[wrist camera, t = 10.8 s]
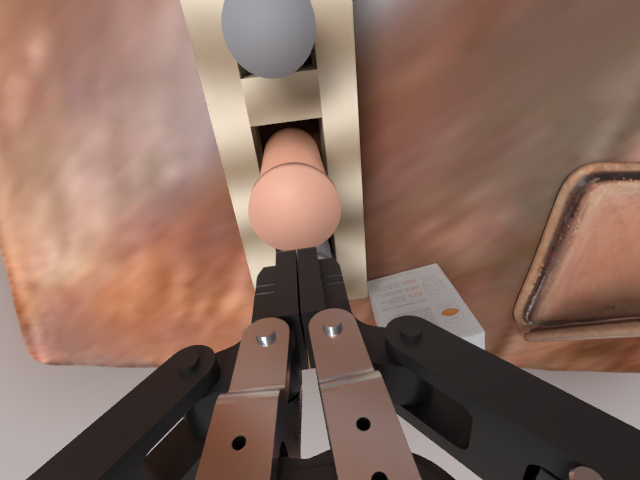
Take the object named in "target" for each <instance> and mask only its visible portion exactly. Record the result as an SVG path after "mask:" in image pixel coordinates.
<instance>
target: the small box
mask: <svg viewBox="0 0 640 480" xmlns="http://www.w3.org/2000/svg"><path fill="white" fill-rule="evenodd" d="M367 288H368V293H369V297H370V301H371V305H372V310H373V314H374V318H375V321H376V324H377V327H386V326H387V324H388V323H389V322H390V321H391V320H393V319H394V318H396V317H399V316H405V315H412V316H418V317H421V318H423V319H425V320H427V321H429V322H431V323H433V324H435V325H437V326H439V327H441V328H443V329H445V330H447V331H449V332H451V333H452V334H454V335H456V336H458V337H460V338H462V339H464V340H466V341H468V342H470V343H472V344H474V345H476V346H478V347H480V348H482V349H483V350H485V331H484V329H483V328H482V326H481V325H480V323H479V322H478V321H477V319H476V318H475V316H474V315H473V313H472V312H471V311H470V309H469V308H468V306H467V305H466V303H465V302H464V301H463V299H462V298H461V296H460V295H459V294H458V292H457V291H456V289H455V288H454V286H453V285H452V284H451V282H450V281H449V279H448V278H447V277H446V275H445V274H444V272H443V271H442V269H441V268H440V267H439V265H438V264H437V263H434V264H430V265H427V266H423V267H419V268H416V269H412V270H408V271H404V272H400V273H396V274H393V275H389V276H385V277H382V278H378V279H374V280H370V281H367Z"/></svg>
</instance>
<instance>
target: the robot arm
mask: <svg viewBox="0 0 640 480" xmlns="http://www.w3.org/2000/svg"><path fill="white" fill-rule="evenodd" d="M297 258H298V259H297ZM307 350H308V351H307ZM308 355H309V361H310V366H311V368H316V374H317V379H318V386H319V391H320V397H321V402H322V407H323V413H324V418H325V423H326V429H327V434H328V439H329V445H330V450H328V451H325V452H323V453H321V454H319V455H316V456H314V457H312V458H309V459H301V448H300V447H301V421H302V388H301V386H302V371H301V370H305V369H309V364H308ZM396 413H397V414H398V415H399V416H401V417H402V418H403V419H404V420H406V421H407V422H408V423H410V424H411V425H412V426H414V427H415V428H416V429H417V430H419V431H420V432H421V433H423V434H424V435H425V436H427V437H428V438H429V439H430V440H432V441H433V442H434V443H436V444H437V445H438V446H440V447H441V448H442V449H444V450H445V451H446V452H447V453H449V454H450V455H451V456H453V457H454V458H455V459H457V460H458V461H459V462H460V463H462V464H463V465H465V466H466V467H467V468H468V469H470V470H471V471H472V472H473V473H475V474H476V475H478V476H479V477H480V478H481V479H483V480H640V430H638V429H636V428H634V427H633V426H631V425H629V424H626V423H625V422H623V421H621V420H619V419H617V418H615V417H613V416H611V415H609V414H607V413H605V412H603V411H602V410H600V409H597V408H596V407H594V406H592V405H590V404H588V403H586V402H584V401H582V400H580V399H578V398H576V397H574V396H572V395H570V394H569V393H566V392H565V391H563V390H561V389H559V388H557V387H555V386H553V385H551V384H549V383H547V382H545V381H543V380H541V379H539V378H538V377H536V376H534V375H532V374H530V373H528V372H526V371H524V370H522V369H520V368H518V367H516V366H514V365H513V364H511V363H509V362H507V361H505V360H503V359H501V358H499V357H497V356H495V355H493V354H491V353H489V352H487V351H485V350H483V349H482V348H480V347H478V346H476V345H474V344H472V343H470V342H468V341H466V340H464V339H462V338H460V337H458V336H456V335H454V334H452V333H451V332H449V331H447V330H445V329H443V328H441V327H439V326H437V325H435V324H433V323H431V322H429V321H427V320H425V319H423V318H421V317H418V316H412V315H405V316H399V317H396V318H394V319H393V320H391V321H390V322H389V323H388V324H387V326H386V327H377V326H371V325H367V324H364V323H362V322H360V321H359V320H357V319H356V318H355V317H354V316H353V314H352V312H351V309H350V305H349V300H348V296H347V292H346V288H345V284H344V280H343V276H342V272H341V268H340V264H339V263H337V262H336V261H335V260H334V259H333V258H325V259H318V255H317V248H316V246H315V247H308V248H301V249H297V254H296V249H294V250H287V251H280V252H276V264H275V266H269V267H263V269H262V270H261V272H260V273H259V274H258V276H257V280H256V289H255V298H254V307H253V315H252V324H251V325H249V326H248V327H247V328H246V329H245V331H244V333H243V335H242V339H241V341H240V342H239V343H237V344H236V345H234V346H232V347H230V348H227V349H225V350H222V351H220V352H217V353H215V354H214V352H213V350H212V349H211V348H209V347H207V346H204V345H193V346H189V347H186V348H184V349H182V350H180V351H178V352H177V353H176V354H174V355H173V356H172V357H171V358H169V359H168V360H167V361H166V362H165V363H163V364H162V365H161V366H160V367H159V368H158V369H156V370H155V371H154V372H153V373H152V374H150V375H149V376H148V377H147V378H146V379H145V380H143V381H142V382H141V383H140V384H139V385H137V386H136V387H135V388H134V389H133V390H132V391H130V392H129V393H128V394H127V395H126V396H124V397H123V398H122V399H121V400H120V401H119V402H117V403H116V404H115V405H114V406H113V407H111V408H110V409H109V410H108V411H107V412H106V413H104V414H103V415H102V416H101V417H100V418H98V419H97V420H96V421H95V422H94V423H92V424H91V425H90V426H89V427H88V428H87V429H85V430H84V431H83V432H82V433H81V434H79V435H78V436H77V437H76V438H75V439H74V440H72V441H71V442H70V443H69V444H68V445H66V446H65V447H64V448H63V449H62V450H61V451H59V452H58V453H57V454H56V455H55V456H54V457H52V458H51V459H50V460H49V461H48V462H46V463H45V464H44V465H43V466H42V467H41V468H40V469H38V470H37V471H36V472H35V473H33V474H32V475H31V476H30V477H29V478H27V479H26V480H455V479H454V478H453V477H452V476H451V475H449V474H448V473H447V472H446V471H444V470H443V469H442V468H440V467H439V466H438V465H436V464H435V463H433V462H432V461H430V460H427V459H426V458H424V457H422V456H420V455H417V454H414V453H412V452H411V451H410V448H409V446H408V443H407V441H406V438H405V435H404V433H403V430H402V427H401V425H400V422H399V420H398V417H397V414H396ZM182 417H183V419H182V421H180V422H179V423H178V425H177V426H176V427H175V428H174V429H173V430H172V431H171V432H170V433H169V434H168V435H167V436H166V437H165V438H164V439H163V440H162V441H161V442H160V443H159V444H158V445H157V446H156V447H155V448H154V449H153V450H152V451H151V452H150V453H149V454H148V452H149V451H150V450H151V448H153V447H154V446H155V445H156V443H157V442H159V440H160V439H161V438H162V437H163V436H164V435H165V434H166V433H167V432H168V431H169V430H170V429H171V428H172V427H173V426H174V425H175V424H176V423H177V422H178V421H179V420H180V419H181V418H182ZM147 454H148V455H147ZM146 455H147V456H146Z"/></svg>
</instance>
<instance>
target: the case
mask: <svg viewBox="0 0 640 480" xmlns="http://www.w3.org/2000/svg"><path fill="white" fill-rule="evenodd" d="M513 315H514V318H515V320H516V321H517V322H518V323H520V324H522V325H526V326H538V328H535V329H531V330H530V332H529V333H526V334H524V339H525V340H526V341H528V342H546V341H567V340H585V339H605V338H625V337H640V162H593V163H589V164H586V165H583V166H581V167H579V168H578V169H576V170H575V171H573V172H572V173H571V174H570V175H569V176H568V177H567V179H566V180H565V182H564V183H563V185H562V187H561V188H560V190H559V193H558V195H557V197H556V200H555V203H554V206H553V209H552V211H551V214H550V216H549V219H548V222H547V225H546V227H545V230H544V233H543V235H542V238H541V241H540V244H539V246H538V249H537V251H536V254H535V257H534V259H533V262H532V264H531V267H530V269H529V272H528V274H527V277H526V279H525V282H524V284H523V286H522V289H521V291H520V294H519V296H518V299H517V302H516V304H515V307H514V312H513Z"/></svg>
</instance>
